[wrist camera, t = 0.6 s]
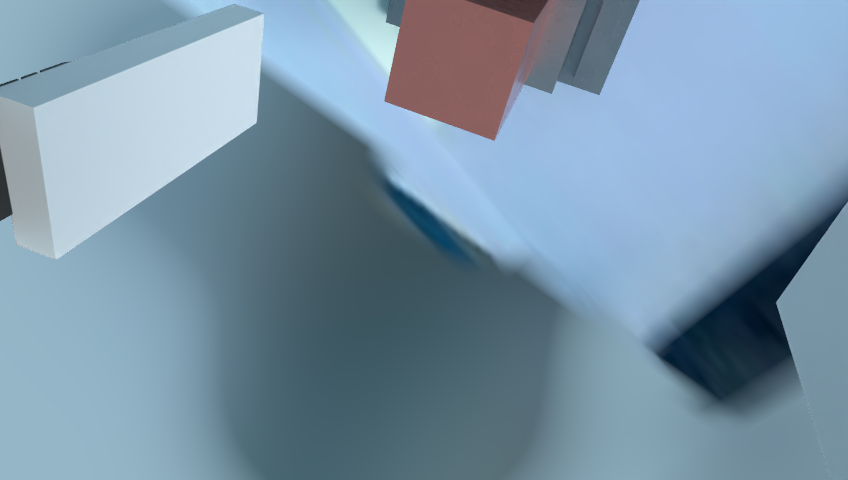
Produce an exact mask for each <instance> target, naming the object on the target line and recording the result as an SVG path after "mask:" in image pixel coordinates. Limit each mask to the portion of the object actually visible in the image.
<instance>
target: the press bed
mask: <svg viewBox="0 0 848 480" xmlns="http://www.w3.org/2000/svg"><path fill="white" fill-rule="evenodd" d="M405 1H406V0H390V4H389V9H388V14H387V19H386V22H387V23H390V24H393V25H396V26H398V27H400V25H401V20H402V15H403V10H404V6H405ZM638 3H639V0H587V2H586V5H585V7H584V10H583V13H582V15H581V18H580V20H579V23H578V26H577V28H576V31H575V34H574V36H573V39H572V42H571V44H570V47H569V50H568V52H567V55H566V58H565V60H564V63H563V66H562V68H561V71H560V73H559V76H558V79H557V81H560V82H563V83H565V84H568V85H571V86H574V87H577V88H580V89H583V90H586V91H589V92H592V93H595V94H598V95H599V94H600V92H601V90H602V87H603V85H604V83H605V80H606V78H607V76H608V73H609V71H610V69H611V66H612V64H613V62H614V59H615V57H616V54H617V52H618V50H619V47H620V45H621V43H622V40H623V38H624V36H625V33H626V31H627V29H628V26H629V24H630V22H631V19H632V17H633V15H634V12H635V10H636V7H637V5H638Z"/></svg>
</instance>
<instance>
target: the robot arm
mask: <svg viewBox="0 0 848 480" xmlns="http://www.w3.org/2000/svg"><path fill="white" fill-rule="evenodd" d="M263 25H264V13H261V12H258V11H255V10H252V9H249V8H246V7H243V6H239V5H236V4H232V5H229V6H227V7H224V8H221V9H218V10H215V11H213V12H210V13H207V14H204V15H201V16H198V17H196V18H193V19H190V20H187V21H184V22H182V23H179V24H176V25H173V26H170V27H168V28H165V29H162V30H159V31H157V32H154V33H151V34H148V35H145V36H142V37H139V38H136V39H134V40H131V41H128V42H125V43H122V44H120V45H117V46H114V47H111V48H108V49H105V50H103V51H100V52H97V53H94V54H91V55H89V56H86V57H83V58H80V59H77V60H74V61H71V62H64V63H60V64H58V65H55V66H52V67H49V68H46V69H43V70H41V71H40V73H36V72H35V73H32V74H29V75H26V76H24V77H21V80H18V79H15V80H12V81H9V82H6V83H4V84H1V85H0V221H1V220H3V219H5V218H6V217H8V216H10V215H11V218H12V224H13V229H14V234H15V239H16V244H17V245H19V246H21V247H24V248H27V249H29V250H32V251H34V252H37V253H39V254H42V255H44V256H47V257H49V258H52V259H55V260H57V259H58V258H59V257H61V256H62V255H64V254H65V253H67V252H68V251H70V250H71V249H73V248H74V247H76V246H77V245H78V244H80V243H81V242H83V241H84V240H86V239H87V238H89V237H90V236H92V235H93V234H95V233H96V232H97V231H99V230H100V229H102V228H103V227H105V226H106V225H108V224H109V223H111V222H112V221H114V220H115V219H116V218H118V217H119V216H121V215H122V214H124V213H125V212H127V211H128V210H130V209H131V208H133V207H134V206H135V205H137V204H138V203H140V202H141V201H143V200H144V199H146V198H147V197H149V196H150V195H152V194H153V193H154V192H156V191H157V190H159V189H160V188H162V187H163V186H165V185H166V184H168V183H169V182H171V181H172V180H173V179H175V178H176V177H178V176H179V175H181V174H182V173H184V172H185V171H186V170H188V169H189V168H191V167H192V166H194V165H195V164H197V163H198V162H200V161H201V160H203V159H204V158H206V157H207V156H208V155H210V154H211V153H213V152H214V151H216V150H217V149H219V148H220V147H222V146H223V145H225V144H226V143H228V142H229V141H230V140H232V139H233V138H235V137H236V136H238V135H239V134H241V133H242V132H244V131H245V130H246V129H248V128H249V127H251V126H252V125H254V124H255V123H257V108H258V95H259V81H260V67H261V53H262V39H263ZM776 303H777V306H778V310H779V313H780V316H781V320H782V323H783V326H784V329H785V333H786V336H787V339H788V343H789V346H790V349H791V353H792V356H793V359H794V362H795V366H796V369H797V372H798V376H799V379H800V382H801V385H802V389H803V392H804V395H805V399H806V402H807V405H808V408H809V412H810V415H811V418H812V422H813V425H814V428H815V431H816V435H817V438H818V441H819V445H820V448H821V451H822V455H823V458H824V461H825V464H826V467H827V471H828V474H829V478H830V480H848V202H847V204H846V205H845V206H844V208H843V209H842V211H841V212H840V213H839V215H838V216H837V218H836V219H835V220H834V222H833V223H832V225H831V226H830V228H829V229H828V230H827V232H826V233H825V235H824V236H823V237H822V239H821V240H820V242H819V243H818V244H817V246H816V247H815V249H814V250H813V251H812V253H811V254H810V256H809V257H808V258H807V260H806V261H805V263H804V264H803V266H802V267H801V268H800V270H799V271H798V273H797V274H796V275H795V277H794V278H793V280H792V281H791V282H790V284H789V285H788V287H787V288H786V289H785V291H784V292H783V294H782V295H781V297H780V298H779V299H778V301H777V302H776Z"/></svg>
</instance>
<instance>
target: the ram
mask: <svg viewBox="0 0 848 480" xmlns="http://www.w3.org/2000/svg"><path fill="white" fill-rule="evenodd" d="M586 2H587V0H406V1H405V6H404V10H403V15H402V20H401V25H400V29H399V34H398V39H397V44H396V48H395V53H394V58H393V63H392V67H391V72H390V77H389V82H388V86H387V91H386V96H385V102H388V103H391V104H393V105H396V106H399V107H402V108H405V109H407V110H410V111H413V112H416V113H419V114H421V115H424V116H427V117H430V118H433V119H435V120H438V121H441V122H444V123H447V124H449V125H452V126H455V127H458V128H461V129H463V130H466V131H469V132H472V133H475V134H477V135H480V136H483V137H486V138H489V139H491V140H495V139H496V137H497V135H498V133H499V131H500V129H501V127H502V125H503V123H504V121H505V119H506V118H507V116H508V114H509V112H510V110H511V108H512V106H513V104H514V102H515V100H516V98H517V96H518V95H519V93H520V91H521V89H522V87H523V85H524V84H525V85H528V86H531V87H534V88H537V89H539V90H542V91H545V92H548V93H551V94H552V92H553V89H554V87H555V84H556V81H557V79H558V76H559V73H560V71H561V68H562V66H563V63H564V60H565V58H566V55H567V52H568V50H569V47H570V44H571V42H572V39H573V36H574V34H575V31H576V28H577V26H578V23H579V20H580V18H581V15H582V13H583V10H584V7H585V5H586Z"/></svg>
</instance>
